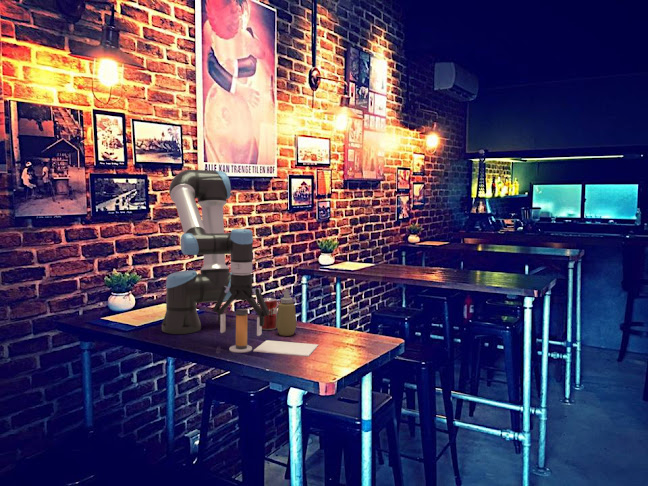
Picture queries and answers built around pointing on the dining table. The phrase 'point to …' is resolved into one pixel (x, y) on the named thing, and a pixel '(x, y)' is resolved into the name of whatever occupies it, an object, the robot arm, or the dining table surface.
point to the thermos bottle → (241, 328)
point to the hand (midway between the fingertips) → (240, 333)
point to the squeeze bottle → (286, 316)
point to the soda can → (272, 317)
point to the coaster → (233, 349)
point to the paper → (286, 348)
